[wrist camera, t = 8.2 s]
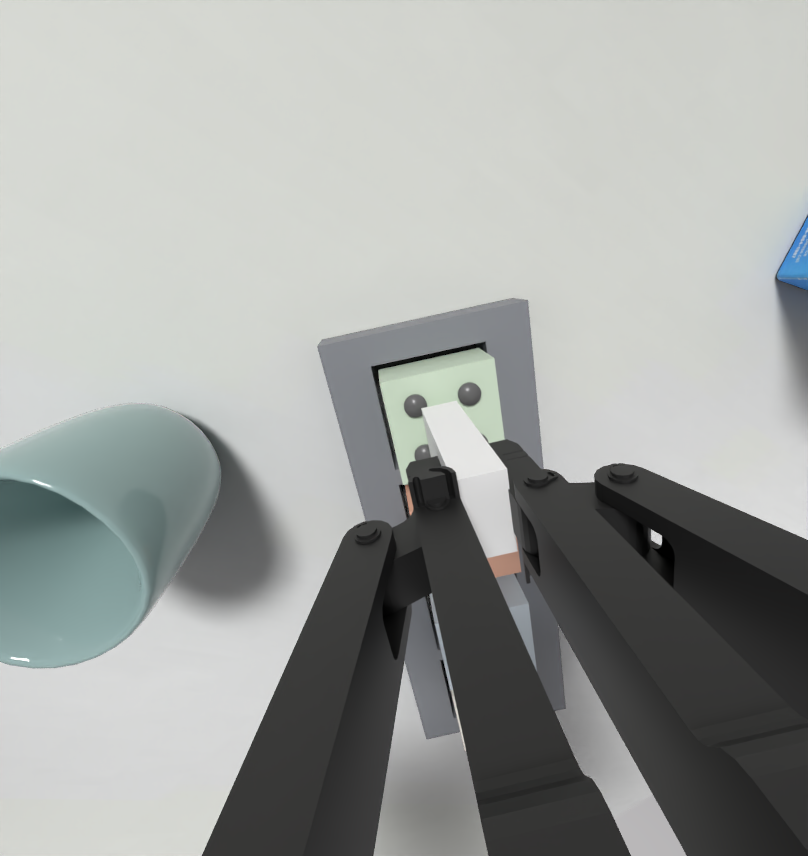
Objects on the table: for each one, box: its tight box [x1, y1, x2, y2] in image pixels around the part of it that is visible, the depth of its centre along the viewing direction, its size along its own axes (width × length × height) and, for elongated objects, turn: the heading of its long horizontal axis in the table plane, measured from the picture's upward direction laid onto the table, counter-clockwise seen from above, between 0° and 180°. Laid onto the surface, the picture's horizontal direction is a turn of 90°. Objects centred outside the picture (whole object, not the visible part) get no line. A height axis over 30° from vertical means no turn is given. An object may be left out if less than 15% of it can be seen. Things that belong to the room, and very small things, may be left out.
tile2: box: [429, 574, 537, 690], centre depth 24 cm, size 5×5×3 cm
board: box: [317, 298, 566, 739], centre depth 25 cm, size 10×28×2 cm, turn 12°
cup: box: [0, 403, 221, 668], centre depth 18 cm, size 8×8×10 cm
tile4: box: [378, 348, 505, 485], centre depth 20 cm, size 5×5×3 cm
